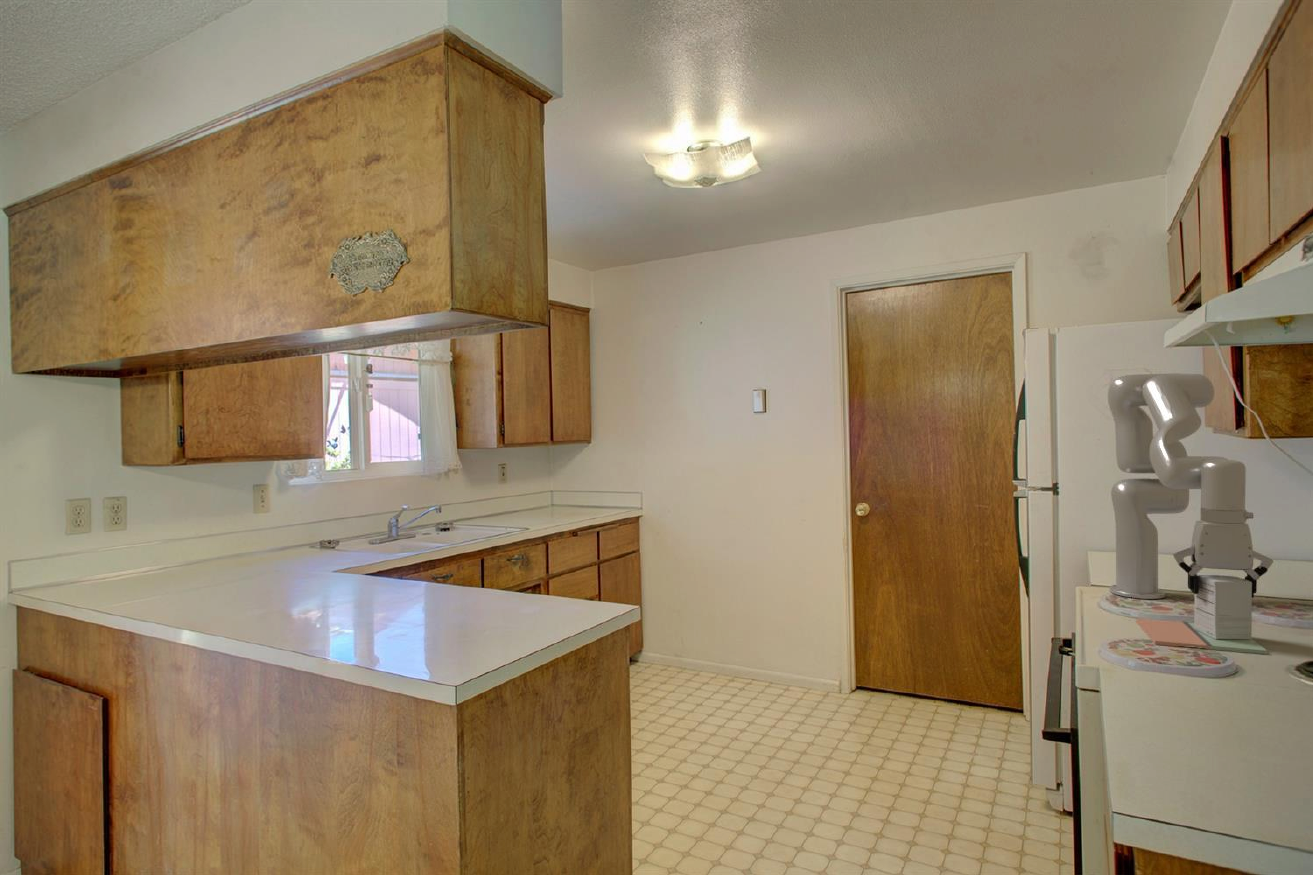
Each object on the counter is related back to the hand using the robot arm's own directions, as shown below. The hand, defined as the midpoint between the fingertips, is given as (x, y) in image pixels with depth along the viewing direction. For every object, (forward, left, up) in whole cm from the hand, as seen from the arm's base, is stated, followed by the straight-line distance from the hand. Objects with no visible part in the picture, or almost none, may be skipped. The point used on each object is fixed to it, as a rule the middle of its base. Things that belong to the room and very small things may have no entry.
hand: (1221, 594), depth 153 cm
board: (+1, -5, -10) cm, 11 cm away
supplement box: (0, 0, -9) cm, 9 cm away
